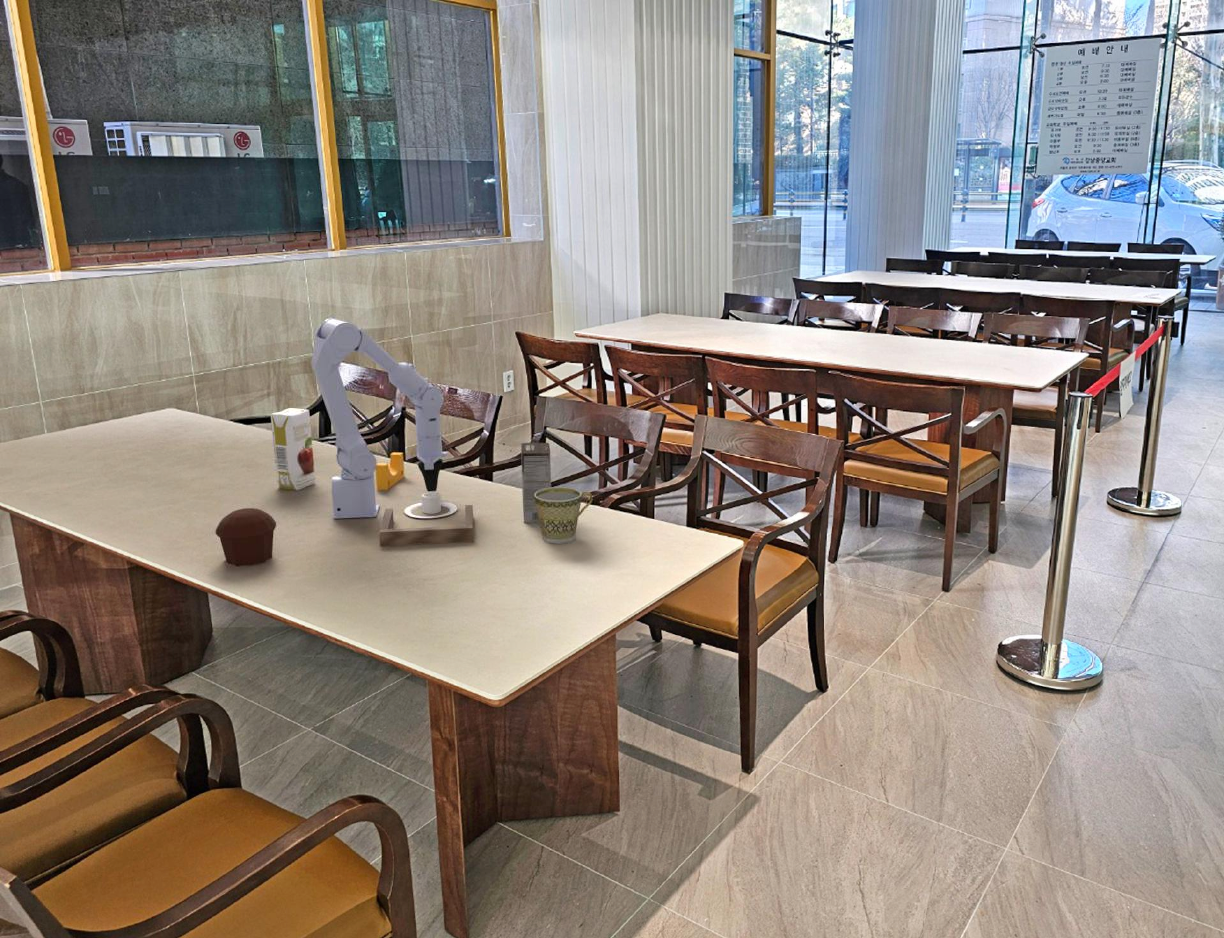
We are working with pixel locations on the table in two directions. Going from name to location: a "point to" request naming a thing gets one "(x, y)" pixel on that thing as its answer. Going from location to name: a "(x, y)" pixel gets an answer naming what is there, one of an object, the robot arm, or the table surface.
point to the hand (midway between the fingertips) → (431, 490)
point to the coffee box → (534, 476)
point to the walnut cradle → (425, 532)
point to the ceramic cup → (559, 512)
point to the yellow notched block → (390, 472)
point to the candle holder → (431, 506)
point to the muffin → (246, 536)
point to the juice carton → (293, 448)
